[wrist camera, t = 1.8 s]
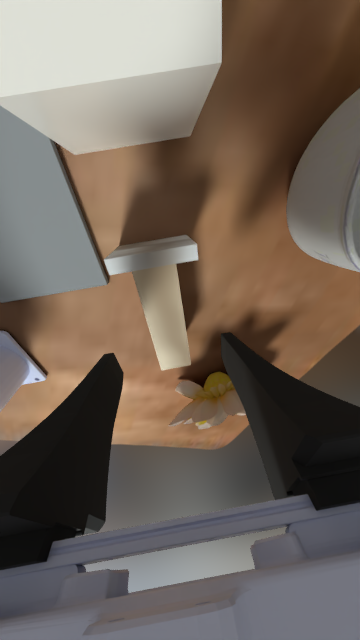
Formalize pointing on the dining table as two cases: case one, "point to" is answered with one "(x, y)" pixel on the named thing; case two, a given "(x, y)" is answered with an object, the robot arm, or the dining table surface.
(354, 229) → the teacup
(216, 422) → the decorative flower
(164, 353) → the pusher
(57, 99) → the tile
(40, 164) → the mat
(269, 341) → the dining table surface
